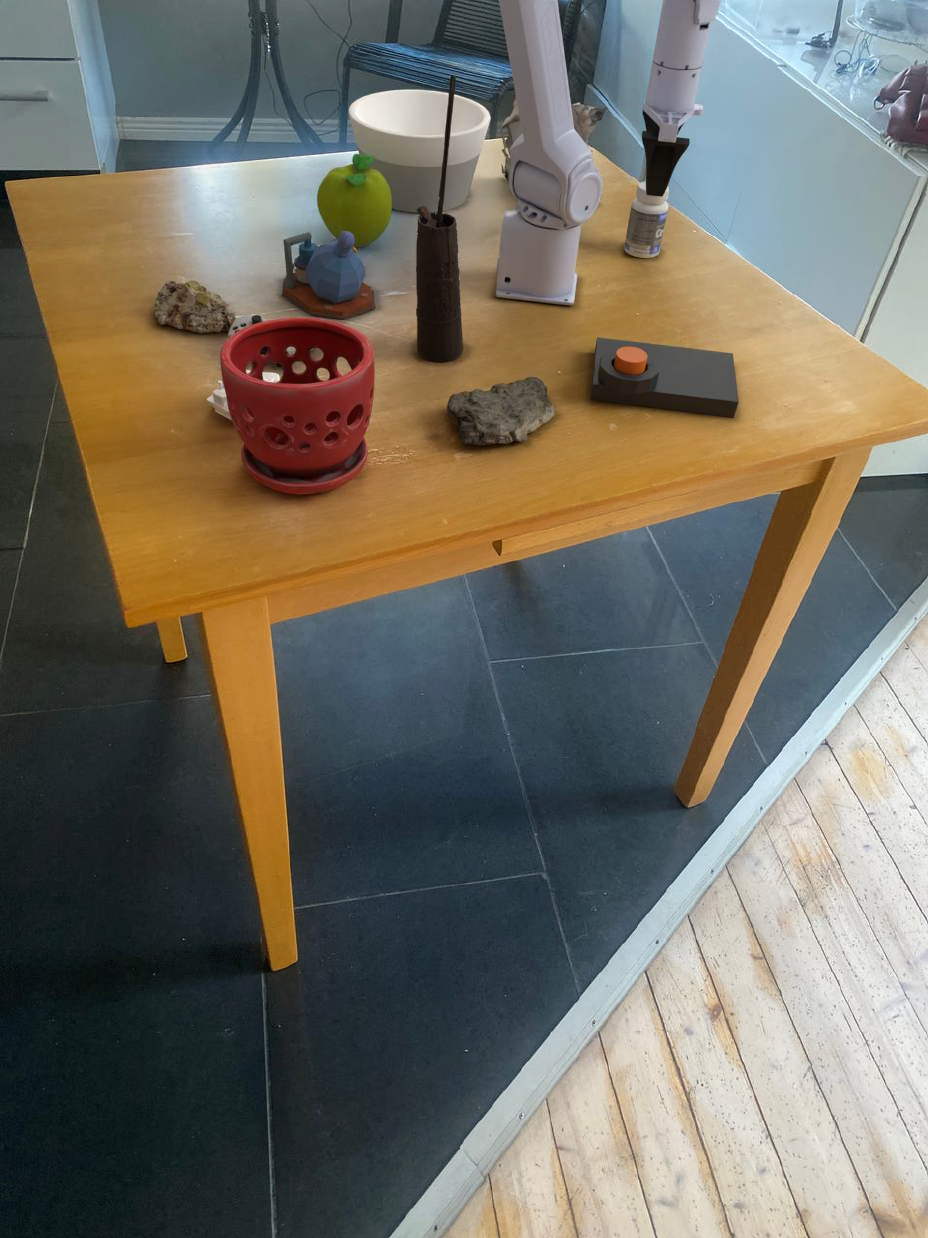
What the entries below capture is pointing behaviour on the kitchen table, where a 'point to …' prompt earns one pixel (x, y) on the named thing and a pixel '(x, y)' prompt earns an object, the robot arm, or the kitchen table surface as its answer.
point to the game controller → (250, 320)
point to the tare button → (630, 360)
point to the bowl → (420, 144)
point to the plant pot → (300, 403)
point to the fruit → (355, 201)
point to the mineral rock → (192, 308)
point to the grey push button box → (667, 379)
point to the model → (327, 278)
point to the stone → (500, 412)
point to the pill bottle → (646, 223)
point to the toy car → (219, 395)
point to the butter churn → (438, 273)
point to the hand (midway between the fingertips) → (654, 183)
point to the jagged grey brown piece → (582, 120)
